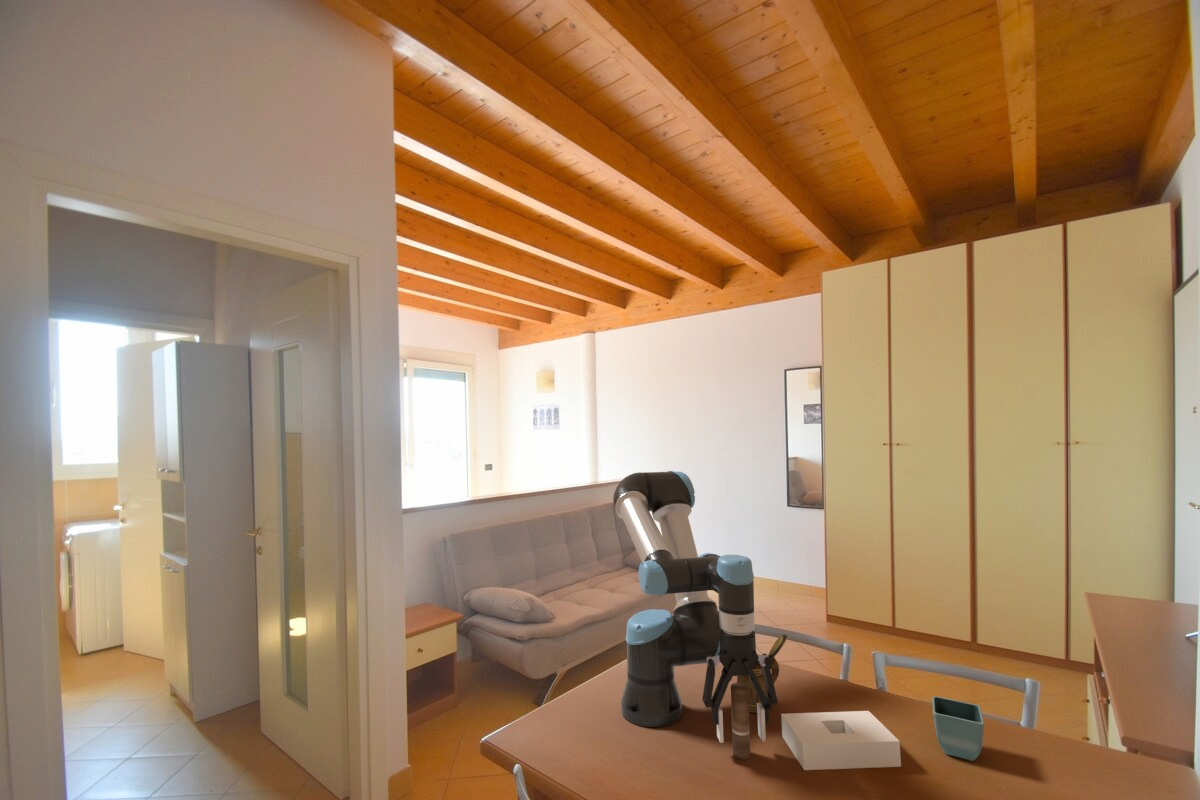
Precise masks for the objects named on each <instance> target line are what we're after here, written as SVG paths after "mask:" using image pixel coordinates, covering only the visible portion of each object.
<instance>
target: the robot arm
mask: <svg viewBox="0 0 1200 800" xmlns="http://www.w3.org/2000/svg"><path fill="white" fill-rule="evenodd" d="M695 493H696V492H695V488H694V484H693V482H692V480H691V478H690V477H689V475H687V474H686V472H683V471H674V470H668V471H652V472H651V471H648V472H643V471H642V472H641V471H640V472H634V473H630V474H628V475H627V476H626V477H624V478H623V479H622V480H620V482H619V483H618V484H617V485H616V488H615V490H614V493H613V497H612V502H613V503H612V504H613V508H614V511H615V513H616V515H617V516H618V518H620V519H621V520H622V521H623V523H624V525H625V527H626V529H627V532H628V535H629V536H630V538H631V541H632V543H633V545H634V548H635V551H636V552H637V555H638V557H639V559H640V561H641V563H640V564H639V566H638V582H639V586H640V590H641V591H642V593H643V594H645V595H648V596H650V595H652V596H653V595H655V596H656V595H657V596H664V595H672V594H674V596H675V601H676V604H675V606H674V608H673V610H672V613H673V614H672V613H671V611H669V610H667V609H662V608H661V609H657V608H654V609H653V608H652V609H644V610H642V611H639V612H637V613H635V614H633V615H632V616H631V617H630V618H628V620H627V623H626V635H625V641H626V663H627V664H626V667H627V669H626V670H627V672H626V673H627V674H626V675H627V679H626V682H625V687H624V689H623V693H622V697H621V701H620V708H621V709H620V710H621V715H622V716H623V717H624V719H625V720H627V721H628V722H630V723H632V724H635V725H637V726H641V727H648V728H660V727H664V726H665V727H666V726H668V725H672V724H674V723H676V722H678V721H679V720H680V719H681V717H682V716H683V702H682V697H681V695H680V692H679V689H678V685H677V684H676V683H677V682H676V680H675V668H676V667H683V666H684V667H685V666H693V665H701V664H706V672H705V679H704V685H703V692H702V703H703V704H704V707H705V708H711V709H710V710H711V720H712V722H713V725H714V726H715V725H716V737H717V739H718V741H719V743H721V744H722V743H724V744H725V742H724V740H725V739H724V719H723V718H724V717H723V716H724V715H723V714H724V713H723V709H722V707H721V704H722V701H723V698H724V697H725V694H726V692H727V689H728V687H729V683H730V682H731V681H732V679H733V677H737V676H738V675H743V676H747V674H748V676H749V678H750V680H751V683H752V685H753V687H754V689H755V691H756V693H757V695H758V697H759V699H760V701H761V703H757V713H756V714H757V734H758V736H759V738H760V740H761V741H762V742H767V739H766V736H767V735H766V724H769V723H770V710H771V708H772V706H777V705H778V704H779V703H778V702H779V701H778V698H777V693H776V688H775V683H773V679H772V670H771V669H770V668H771V659H770V658H769V656H768V655H769V654H767V653H762V654H758V653H757V645H756V644H757V643H756V632H755V629H756V624H755V623H756V621H755V620H756V619H755V592H754V590H755V588H754V587H755V585H754V584H755V583H754V579H755V576H754V571H753V570H754V569H753V562H752V560H751V558H749V557H747V556H745V555H741V554H723V555H721V556H720V555H719V554H717V553H712V552H705V553H702V554H700V555H699V553H698V550H697V547H696V544H695V538H694V535H693V531H692V527H691V522H690V519H689V516H690V515H691V513H692V511H693V510H692V508H693V507H694V505H695V501H696V495H695ZM656 522H657V523H659V526H658V525H657V523H656ZM658 527H660V529H659V528H658ZM708 591H714V592H715V593H717V594H718V606H717V603H716V601H715V600H712V599H711V598H710V597H709V594H708ZM757 661H759V663H760V665H761V666H762V671H763V675H764V680H765V684H766V689H767V693H768V697H765V695H764V692H763V690H762V688H761V686H760V684H759V682H758V680H757V678H756V675H755V673H754V671H753V668H754V666H755V664H756V663H757ZM719 663H720V664H722V666H723V667H722V670H721V675H720V676H719V679H718V683H717V685H716V687H715V690H714V685H715V684H714V683H715V677H716V669H717V668H718V664H719ZM713 690H714V692H713ZM771 705H772V706H771Z"/></svg>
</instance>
